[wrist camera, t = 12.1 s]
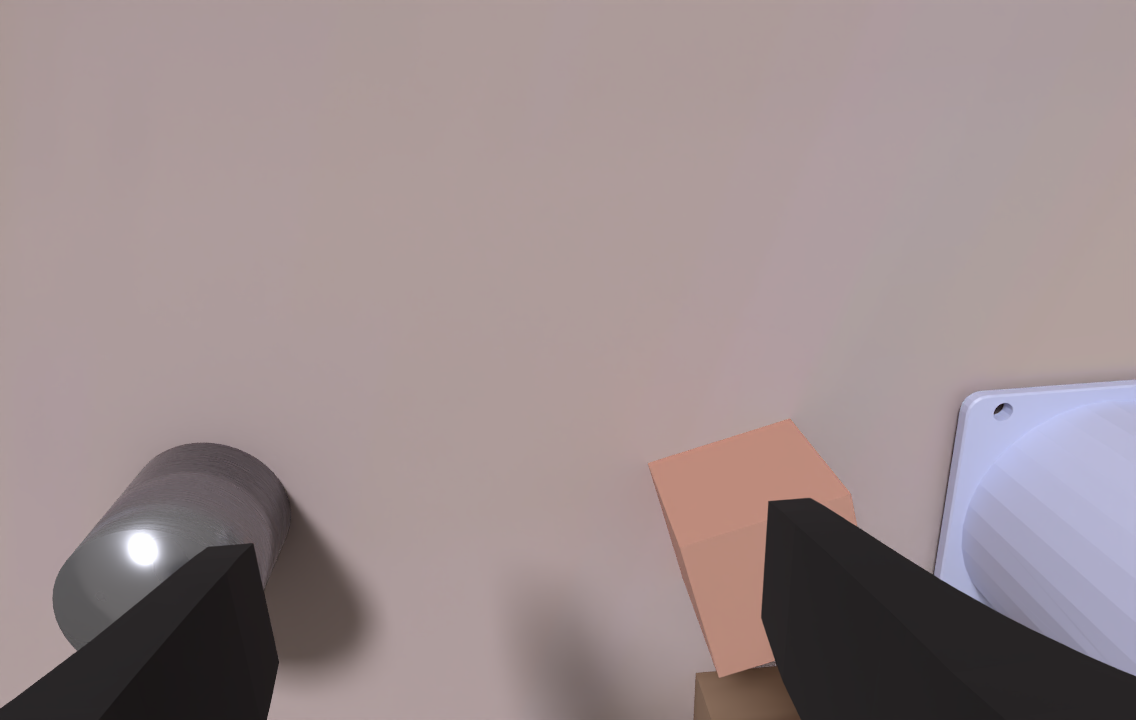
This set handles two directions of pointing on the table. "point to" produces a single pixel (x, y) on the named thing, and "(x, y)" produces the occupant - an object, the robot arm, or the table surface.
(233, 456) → the dark metal cylinder
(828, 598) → the robot arm
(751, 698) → the walnut block
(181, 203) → the table surface
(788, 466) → the terracotta block
